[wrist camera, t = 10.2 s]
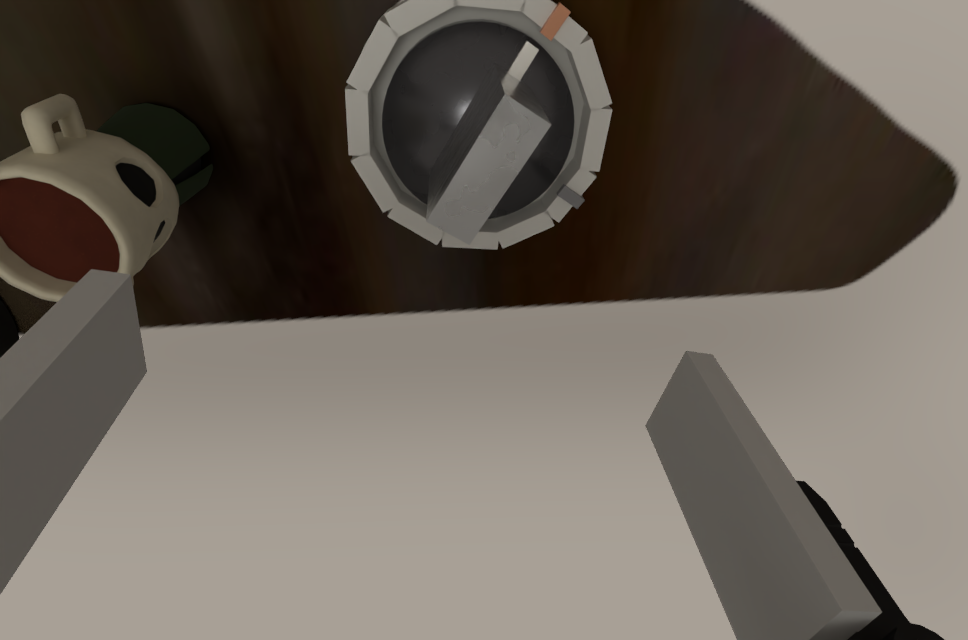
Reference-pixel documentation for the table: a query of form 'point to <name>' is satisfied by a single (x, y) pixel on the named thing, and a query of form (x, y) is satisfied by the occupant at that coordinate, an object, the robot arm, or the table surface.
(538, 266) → the table surface
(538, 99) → the dial
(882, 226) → the table surface
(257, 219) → the table surface
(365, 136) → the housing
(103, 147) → the character mug
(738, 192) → the table surface
